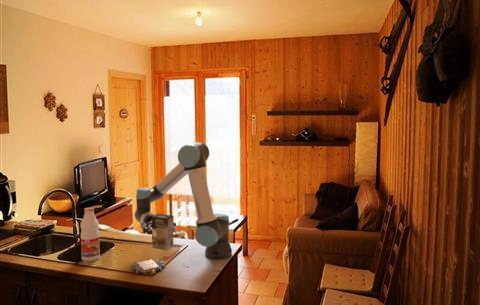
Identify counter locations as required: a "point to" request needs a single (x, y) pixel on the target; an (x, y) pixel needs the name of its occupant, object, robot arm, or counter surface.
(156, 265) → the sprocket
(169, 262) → the counter surface
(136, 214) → the robot arm
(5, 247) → the counter surface
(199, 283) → the counter surface
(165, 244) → the coffee box
